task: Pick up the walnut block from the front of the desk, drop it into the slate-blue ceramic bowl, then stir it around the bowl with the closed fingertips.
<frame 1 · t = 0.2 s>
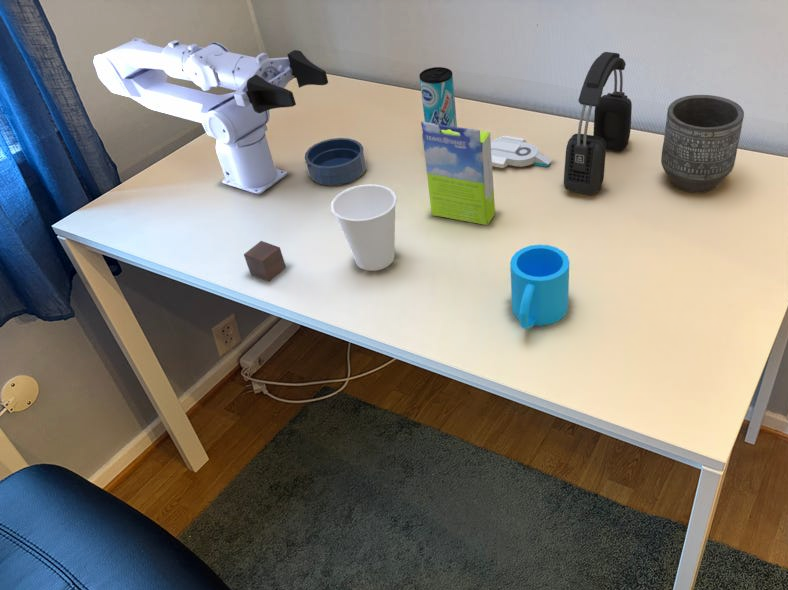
hand: (309, 88, 114), 22 cm above the table, tool horizontal, fingers open, 7 cm apart
block: (268, 271, 117), on the table
mug: (536, 316, 106), on the table
blue printed cylinder: (443, 151, 141), on the table
toy rocket: (510, 158, 137), on the table
bowl: (338, 171, 138), on the table
cup: (375, 261, 117), on the table
headphones: (597, 167, 133), on the table
box: (463, 216, 125), on the table
planter: (694, 181, 128), on the table
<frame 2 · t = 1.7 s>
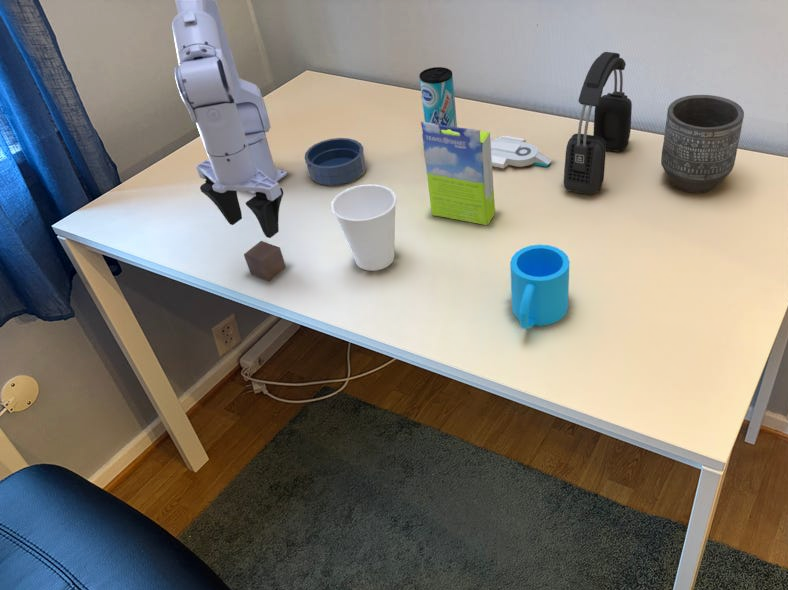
hand: (254, 227, 111), 8 cm above the table, tool pointing down, fingers open, 7 cm apart
nothing on the table moved.
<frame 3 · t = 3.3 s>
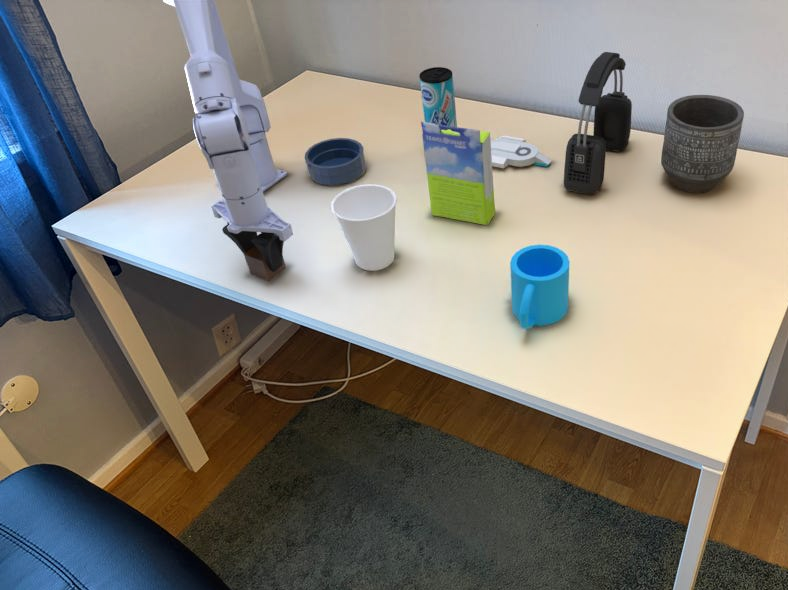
hand: (266, 264, 116), 1 cm above the table, tool pointing down, fingers closed on block, 4 cm apart
block: (268, 271, 117), on the table, touching gripper
everything else where it was.
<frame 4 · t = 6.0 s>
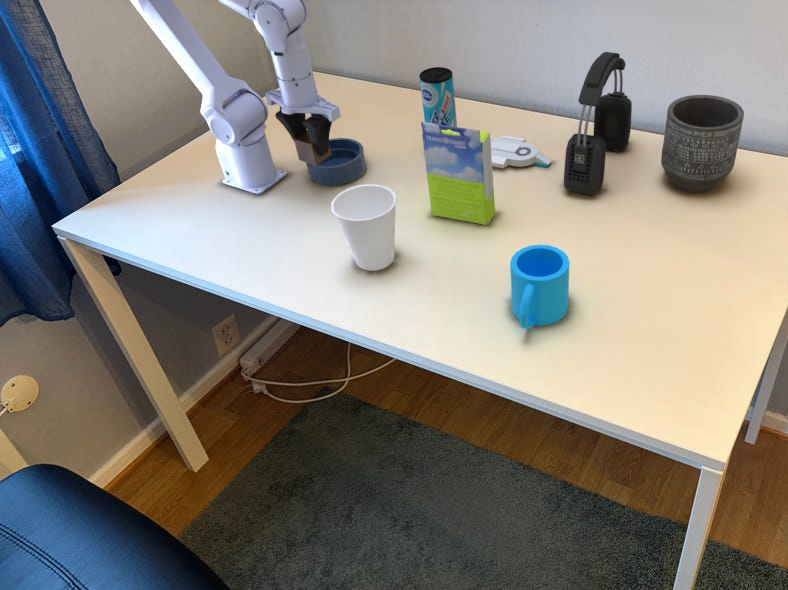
hand: (313, 150, 127), 8 cm above the table, tool pointing down, fingers closed on block, 4 cm apart
block: (315, 157, 128), point 7 cm above the table, touching gripper
everything else where it was.
when the fingers open (2 cm above the table, at t = 8.7 s): block stays where it is, resting on bowl.
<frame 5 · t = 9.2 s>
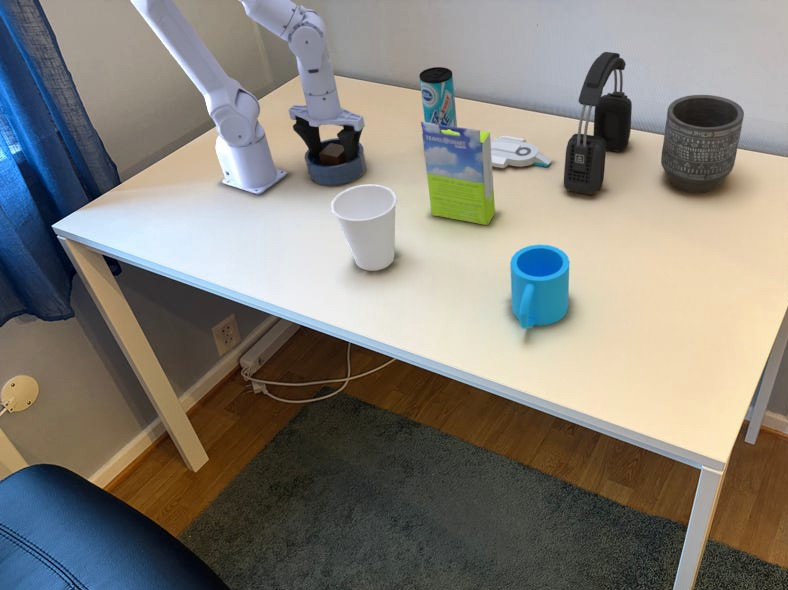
hand: (335, 159, 136), 3 cm above the table, tool pointing down, fingers open, 7 cm apart
block: (338, 169, 137), resting on bowl
everything else where it was.
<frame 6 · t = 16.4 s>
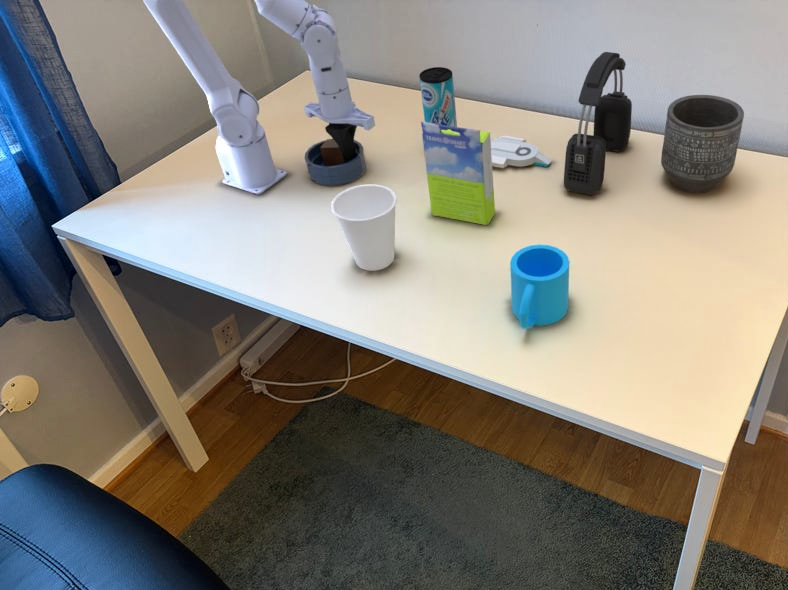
hand: (349, 157, 136), 2 cm above the table, tool pointing down, fingers closed, pressing on block
block: (338, 163, 138), point 1 cm above the table, tilted 7°, touching bowl, gripper
everything else where it was.
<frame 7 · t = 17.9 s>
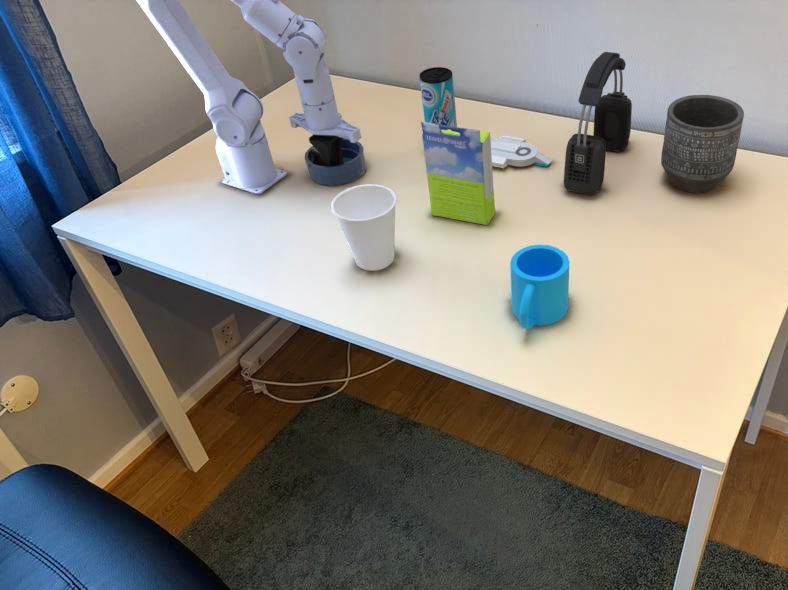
hand: (334, 169, 134), 2 cm above the table, tool pointing down, fingers closed
block: (330, 167, 138), point 1 cm above the table, touching bowl, gripper
everything else where it was.
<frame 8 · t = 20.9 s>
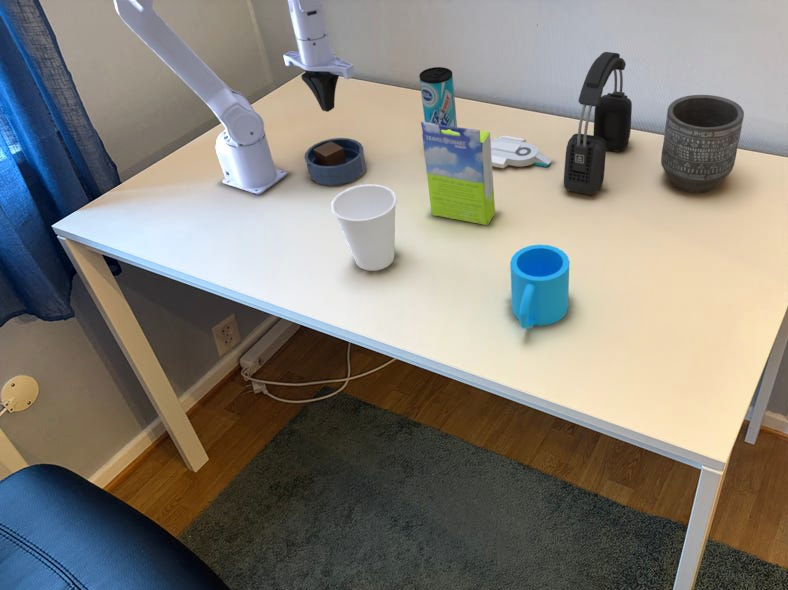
hand: (328, 108, 135), 9 cm above the table, tool pointing down, fingers closed
block: (332, 167, 138), point 1 cm above the table, touching bowl
everything else where it was.
at the end: block 1.2 cm off-centre in the bowl, point 0.5 cm above the bowl's base; the gripper is holding nothing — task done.
